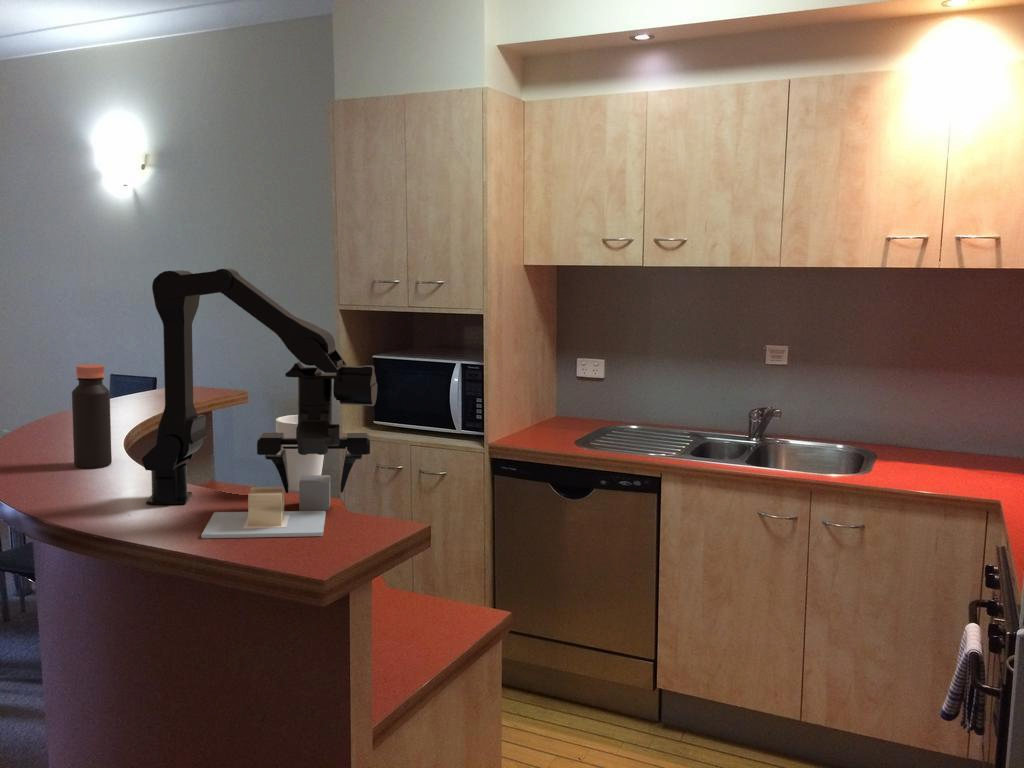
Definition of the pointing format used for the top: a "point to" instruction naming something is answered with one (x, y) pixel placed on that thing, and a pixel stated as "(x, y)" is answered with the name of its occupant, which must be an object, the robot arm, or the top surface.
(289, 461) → the foam cup
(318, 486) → the charcoal block
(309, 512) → the board
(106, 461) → the bottle
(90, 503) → the top surface
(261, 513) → the maple block
